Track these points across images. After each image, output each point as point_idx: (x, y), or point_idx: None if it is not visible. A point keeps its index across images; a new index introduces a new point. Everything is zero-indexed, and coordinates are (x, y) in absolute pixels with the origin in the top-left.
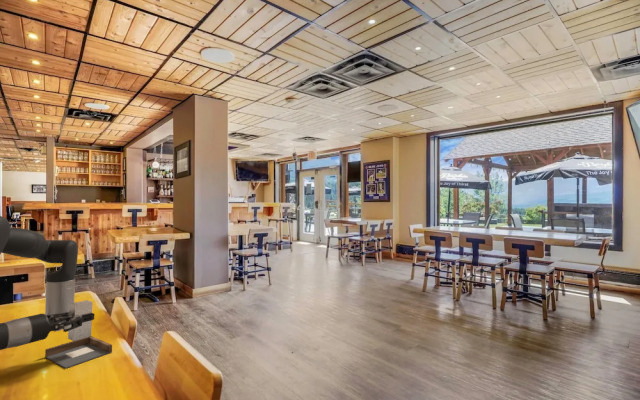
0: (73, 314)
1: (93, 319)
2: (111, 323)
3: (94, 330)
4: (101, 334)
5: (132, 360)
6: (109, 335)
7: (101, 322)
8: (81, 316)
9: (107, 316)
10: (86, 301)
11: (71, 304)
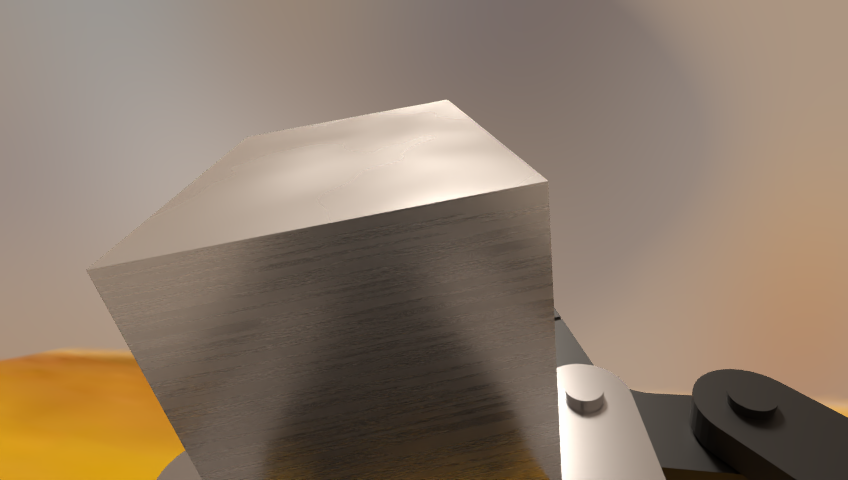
0: (485, 457)
1: None
2: (120, 367)
3: (96, 454)
4: None
5: (838, 409)
6: None
7: (40, 397)
8: (611, 374)
9: (11, 361)
10: (324, 130)
11: (246, 244)
